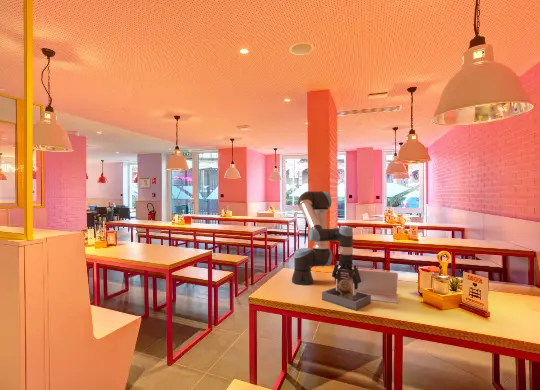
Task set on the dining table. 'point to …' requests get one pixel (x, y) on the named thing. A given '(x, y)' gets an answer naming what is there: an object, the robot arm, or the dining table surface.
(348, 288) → the coffee box
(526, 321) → the dining table surface
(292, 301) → the dining table surface
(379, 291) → the tablet stand
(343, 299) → the tray
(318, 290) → the dining table surface
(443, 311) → the dining table surface
